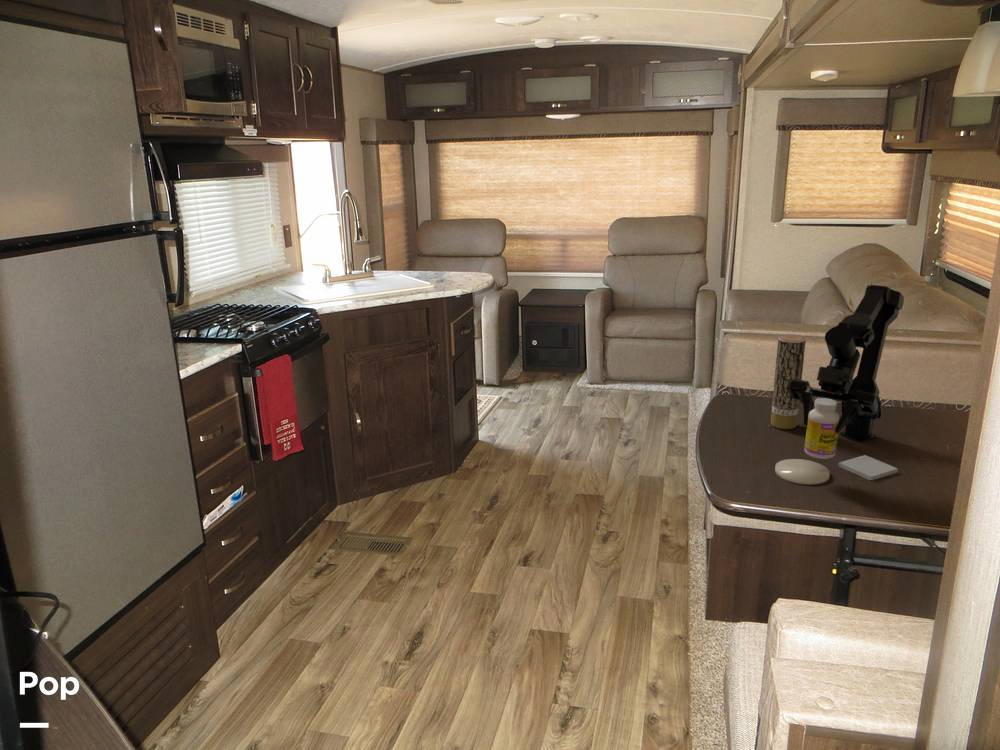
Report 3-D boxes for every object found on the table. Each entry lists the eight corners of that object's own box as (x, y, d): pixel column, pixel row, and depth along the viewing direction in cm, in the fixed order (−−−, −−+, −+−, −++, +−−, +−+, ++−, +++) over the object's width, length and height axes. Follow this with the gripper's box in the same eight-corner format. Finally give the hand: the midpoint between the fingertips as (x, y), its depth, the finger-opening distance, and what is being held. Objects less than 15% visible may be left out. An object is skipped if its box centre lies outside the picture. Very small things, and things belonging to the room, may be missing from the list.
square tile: (864, 458, 186) (865, 454, 185) (897, 472, 178) (897, 468, 178) (838, 466, 182) (839, 462, 182) (870, 480, 174) (871, 476, 174)
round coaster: (800, 459, 187) (800, 455, 186) (840, 477, 176) (841, 473, 176) (763, 469, 182) (764, 465, 181) (803, 489, 171) (803, 485, 171)
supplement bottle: (815, 461, 170) (821, 408, 166) (798, 449, 176) (803, 397, 172) (841, 457, 171) (848, 405, 167) (823, 446, 177) (830, 395, 173)
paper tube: (774, 419, 212) (782, 333, 204) (799, 424, 208) (808, 336, 200) (767, 427, 207) (775, 338, 199) (792, 432, 203) (801, 342, 195)
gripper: (794, 345, 175) (772, 404, 170) (881, 358, 163) (859, 422, 159) (802, 369, 183) (782, 425, 179) (886, 383, 172) (866, 444, 167)
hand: (820, 428), depth 171 cm, fingers closed on supplement bottle, 7 cm apart
